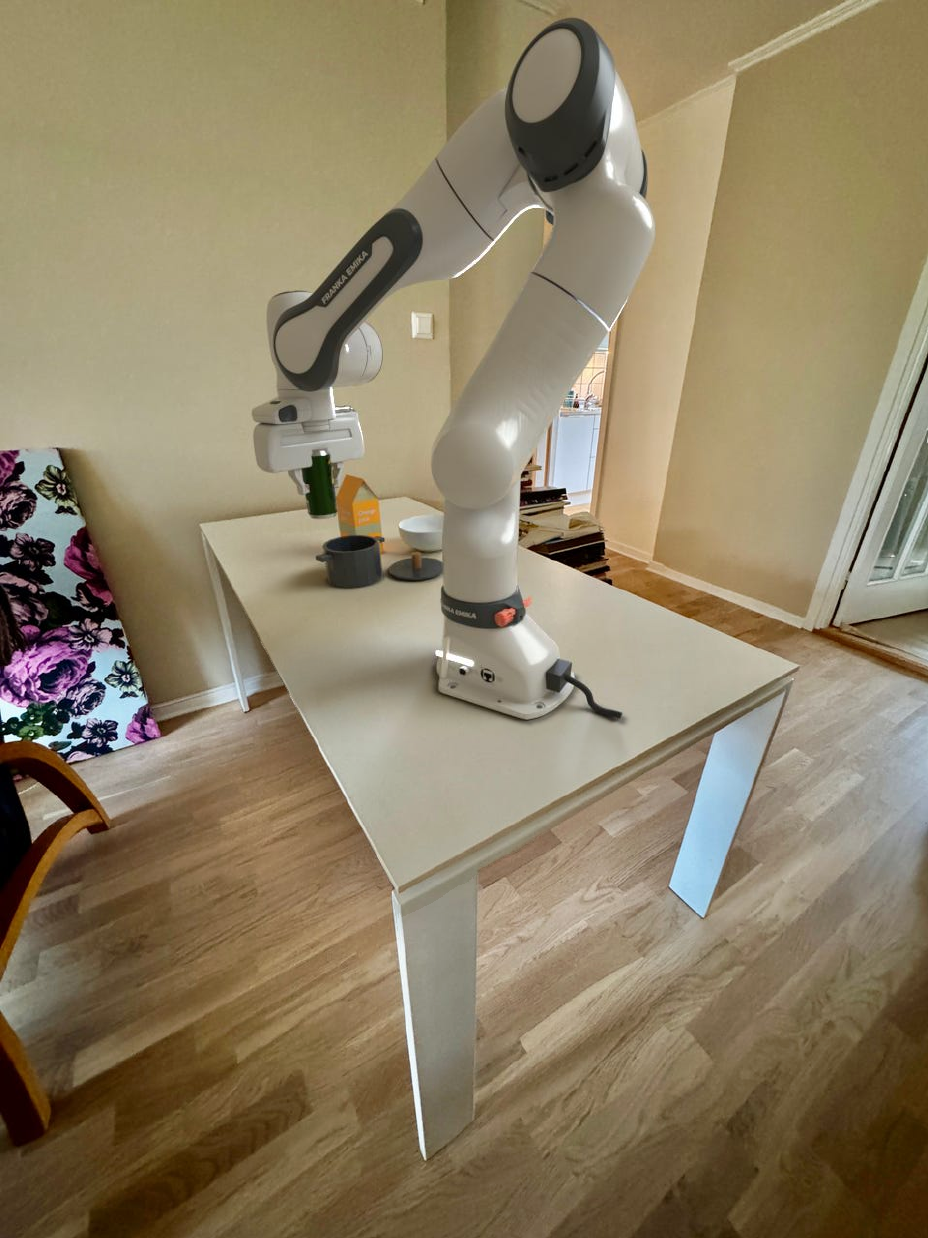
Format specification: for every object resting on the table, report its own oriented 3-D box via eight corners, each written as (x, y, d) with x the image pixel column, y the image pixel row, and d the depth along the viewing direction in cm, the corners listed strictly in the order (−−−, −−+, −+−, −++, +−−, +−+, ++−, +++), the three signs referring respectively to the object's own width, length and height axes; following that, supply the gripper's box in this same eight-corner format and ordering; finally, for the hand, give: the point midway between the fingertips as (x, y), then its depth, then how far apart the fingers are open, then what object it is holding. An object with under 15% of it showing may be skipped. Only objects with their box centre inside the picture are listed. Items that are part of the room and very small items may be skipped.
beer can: (314, 521, 86) (303, 451, 80) (304, 514, 90) (293, 447, 84) (342, 516, 89) (333, 448, 83) (332, 510, 93) (323, 444, 87)
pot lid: (456, 569, 118) (456, 551, 116) (417, 587, 108) (416, 568, 106) (417, 557, 125) (415, 540, 123) (377, 573, 116) (375, 555, 114)
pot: (401, 572, 116) (398, 538, 113) (341, 597, 104) (335, 560, 100) (367, 561, 124) (364, 529, 120) (307, 583, 111) (301, 548, 108)
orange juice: (358, 559, 125) (349, 481, 116) (342, 551, 131) (331, 476, 122) (384, 552, 130) (376, 476, 120) (367, 544, 135) (358, 472, 126)
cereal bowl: (427, 534, 143) (425, 510, 140) (472, 544, 135) (472, 519, 131) (387, 550, 131) (385, 524, 128) (434, 562, 122) (433, 535, 119)
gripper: (345, 404, 90) (354, 479, 96) (241, 411, 76) (259, 498, 82) (367, 405, 86) (375, 483, 92) (262, 412, 72) (279, 504, 79)
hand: (319, 490), depth 87 cm, fingers closed on beer can, 5 cm apart
